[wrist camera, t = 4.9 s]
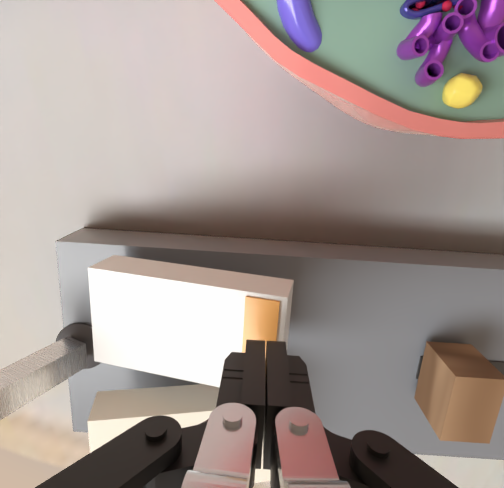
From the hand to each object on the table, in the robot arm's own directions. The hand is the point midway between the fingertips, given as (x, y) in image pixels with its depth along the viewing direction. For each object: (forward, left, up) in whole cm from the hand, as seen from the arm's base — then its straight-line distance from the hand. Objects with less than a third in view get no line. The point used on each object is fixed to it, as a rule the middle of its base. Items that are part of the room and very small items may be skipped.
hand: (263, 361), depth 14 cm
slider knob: (+10, -3, -5) cm, 12 cm away
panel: (+3, -3, -9) cm, 10 cm away
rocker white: (-3, 0, -3) cm, 5 cm away
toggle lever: (-10, -3, -5) cm, 12 cm away
